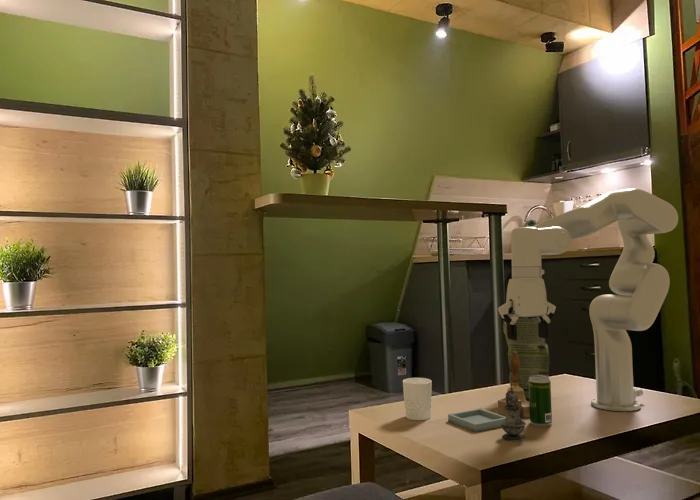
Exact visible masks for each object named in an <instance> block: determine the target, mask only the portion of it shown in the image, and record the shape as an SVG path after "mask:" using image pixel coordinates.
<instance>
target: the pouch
mask: <svg viewBox="0 0 700 500" xmlns="http://www.w3.org/2000/svg"><path fill="white" fill-rule="evenodd" d="M502 321H503V324H502V329H503V330H502V331H503V333H504V335H505V339H506V343H507V344H506V345H507V350H508V351H507V358H508V359H507V361H508V367H509V371H508V373H509V375H508V381H509V386H510V387H511V386H512V381H513V380H512V370H511V365H510V360H511V356H512V352H517V354H518V357H519V361H520V367H519V371H518V385H519V387H521V388H522V389H523V390H524V395H525V399H526V400H529V382H528V380H529V376H531V375H545V376H549V377H550V374H549V373H550V372H549V368H550V354H549V345H548V344H547V343H546V338H540V337H539V334H538V323H539V322H540V320H539V319H538V318H537V317H532V318H529V317H519V318H518V319H517V321H516V322H515V324H514V325H516V326H517V340H510V339H508V336H507V324H505V321H504V320H503V319H502Z"/></svg>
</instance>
